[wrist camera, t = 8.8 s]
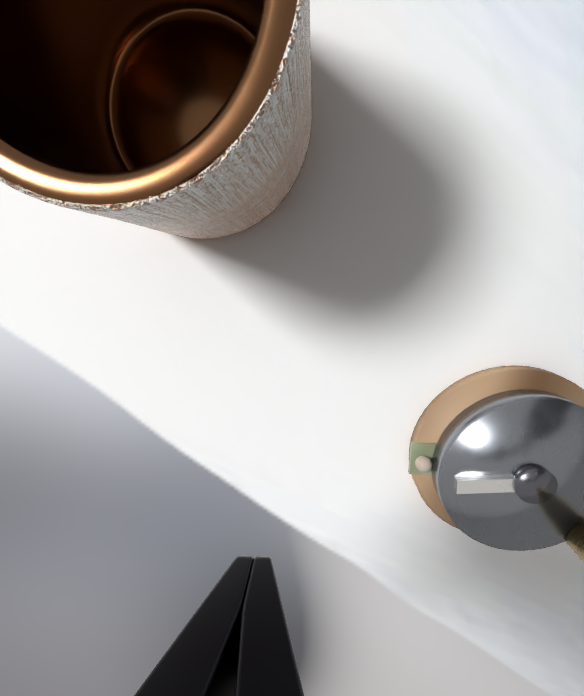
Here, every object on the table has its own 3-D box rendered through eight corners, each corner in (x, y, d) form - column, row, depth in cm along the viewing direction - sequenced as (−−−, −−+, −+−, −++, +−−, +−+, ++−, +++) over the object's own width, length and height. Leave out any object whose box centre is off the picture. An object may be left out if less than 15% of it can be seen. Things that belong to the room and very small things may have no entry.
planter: (76, 8, 16) (-271, -370, 6) (304, -22, 15) (296, -503, 6) (121, 247, 18) (-75, 230, 9) (317, 232, 17) (325, 196, 8)
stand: (617, 366, 18) (651, 377, 16) (576, 529, 21) (602, 554, 19) (412, 365, 19) (424, 376, 17) (399, 524, 22) (407, 547, 20)
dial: (433, 393, 18) (477, 440, 13) (612, 384, 17) (726, 429, 13) (429, 534, 20) (466, 617, 15) (587, 530, 20) (676, 616, 15)
